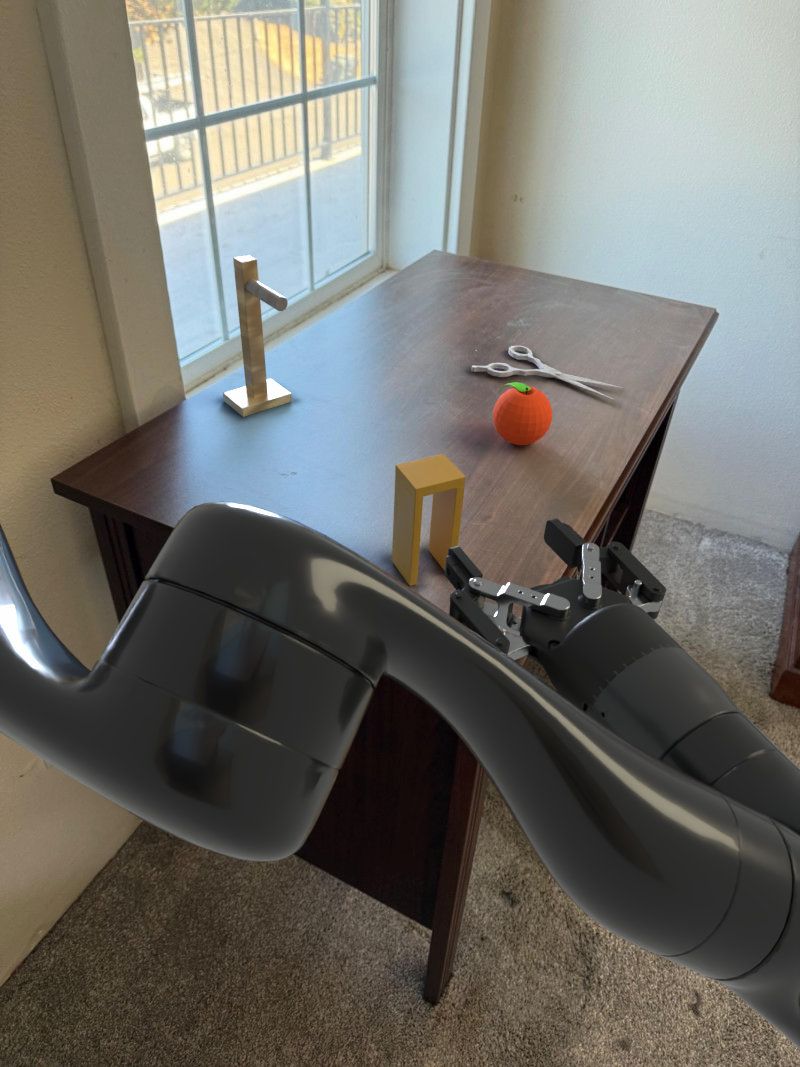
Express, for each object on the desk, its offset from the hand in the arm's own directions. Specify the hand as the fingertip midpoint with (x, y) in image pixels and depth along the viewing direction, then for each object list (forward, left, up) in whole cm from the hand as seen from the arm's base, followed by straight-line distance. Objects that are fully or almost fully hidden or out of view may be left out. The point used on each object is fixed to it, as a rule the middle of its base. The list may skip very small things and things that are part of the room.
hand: (501, 541), depth 56 cm
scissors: (+23, +47, -12) cm, 54 cm away
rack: (-16, +43, -11) cm, 47 cm away
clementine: (+13, +32, -12) cm, 37 cm away
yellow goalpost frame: (-3, +11, -11) cm, 16 cm away
